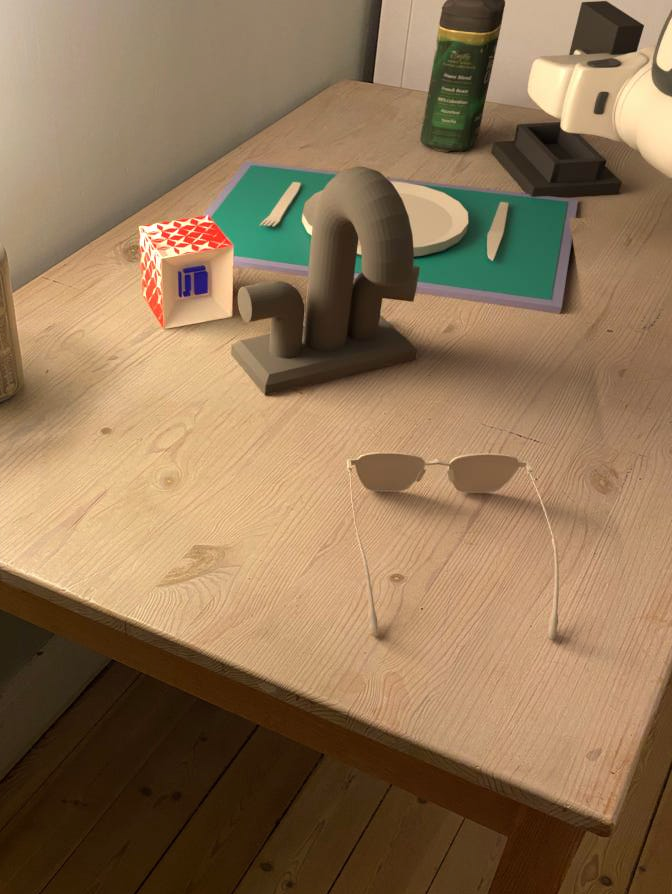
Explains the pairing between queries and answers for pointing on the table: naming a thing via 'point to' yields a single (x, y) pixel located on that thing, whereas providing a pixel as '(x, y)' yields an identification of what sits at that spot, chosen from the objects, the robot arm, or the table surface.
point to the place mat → (433, 228)
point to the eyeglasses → (465, 476)
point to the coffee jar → (461, 73)
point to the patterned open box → (186, 271)
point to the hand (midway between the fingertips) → (596, 56)
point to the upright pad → (605, 30)
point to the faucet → (336, 291)
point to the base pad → (555, 162)
